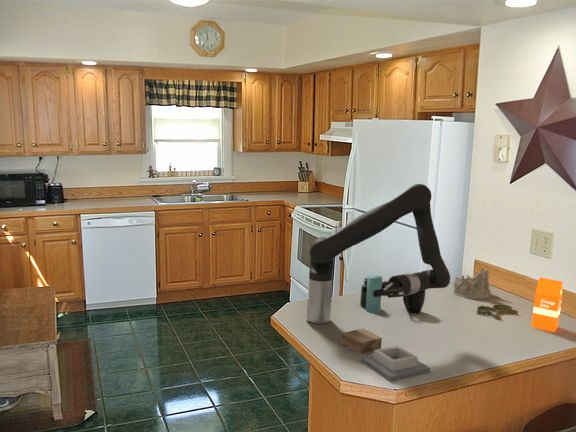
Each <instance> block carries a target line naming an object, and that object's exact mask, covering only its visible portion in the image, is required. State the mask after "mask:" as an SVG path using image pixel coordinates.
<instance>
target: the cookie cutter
mask: <svg viewBox="0 0 576 432" xmlns="http://www.w3.org/2000/svg"><path fill="white" fill-rule="evenodd" d="M480 309H481V310H480ZM483 309H484V310H483ZM494 309H496V311H495V313H494ZM518 312H519V311H518V310H516V309H513V306H510V305H507V304H500V303H499V304H495V303H494V305H492V307H490V306H488V305H487V306H485V305H480V306H477V309H476V315H481V314H482V315H481V316H486V315H485V314H489V316H490V315H491V316H490V317H491V318H493V319H495V320H497V319H498V320H500V319H501V315H500V314H505V313H507V315H508V314H509V315H513V314H515V316H517V315H518Z"/></svg>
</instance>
